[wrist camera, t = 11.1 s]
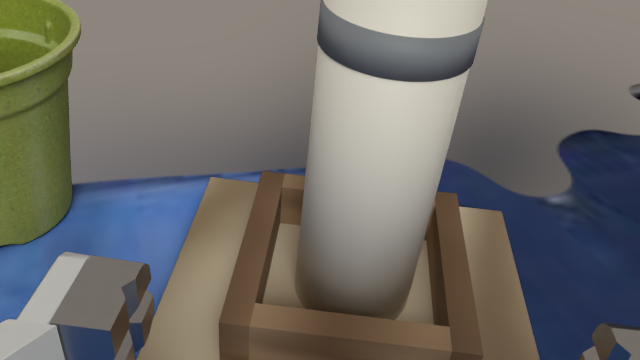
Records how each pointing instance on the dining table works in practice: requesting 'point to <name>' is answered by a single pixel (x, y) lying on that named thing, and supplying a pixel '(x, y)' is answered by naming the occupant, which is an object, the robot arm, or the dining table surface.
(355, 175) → the grooved cream capsule
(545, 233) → the dining table surface
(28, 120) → the plant pot
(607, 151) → the dining table surface
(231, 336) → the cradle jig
